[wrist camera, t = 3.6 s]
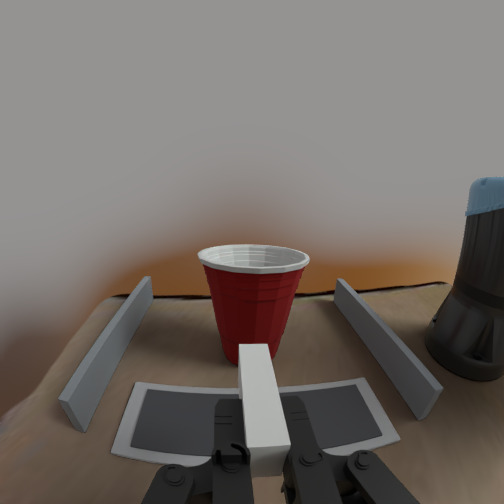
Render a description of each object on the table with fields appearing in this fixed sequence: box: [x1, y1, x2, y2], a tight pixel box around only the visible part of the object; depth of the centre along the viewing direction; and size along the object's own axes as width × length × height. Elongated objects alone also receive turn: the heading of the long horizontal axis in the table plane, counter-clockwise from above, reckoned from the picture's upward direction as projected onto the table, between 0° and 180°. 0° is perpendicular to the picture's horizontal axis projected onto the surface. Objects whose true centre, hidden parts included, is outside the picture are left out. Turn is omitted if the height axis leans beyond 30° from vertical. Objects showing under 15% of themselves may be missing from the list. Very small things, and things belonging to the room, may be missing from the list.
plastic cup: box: [198, 245, 310, 365], centre depth 28 cm, size 11×11×12 cm
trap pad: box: [111, 377, 400, 467], centre depth 19 cm, size 23×9×1 cm, turn 94°
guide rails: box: [58, 276, 443, 432], centre depth 28 cm, size 31×26×4 cm
